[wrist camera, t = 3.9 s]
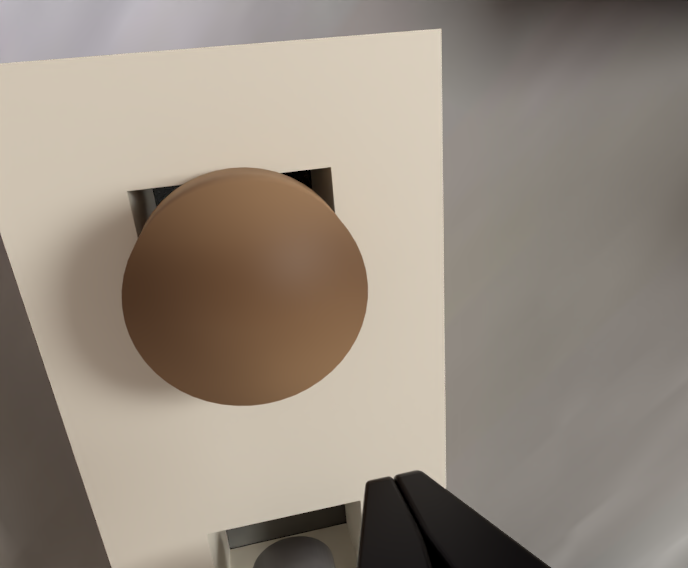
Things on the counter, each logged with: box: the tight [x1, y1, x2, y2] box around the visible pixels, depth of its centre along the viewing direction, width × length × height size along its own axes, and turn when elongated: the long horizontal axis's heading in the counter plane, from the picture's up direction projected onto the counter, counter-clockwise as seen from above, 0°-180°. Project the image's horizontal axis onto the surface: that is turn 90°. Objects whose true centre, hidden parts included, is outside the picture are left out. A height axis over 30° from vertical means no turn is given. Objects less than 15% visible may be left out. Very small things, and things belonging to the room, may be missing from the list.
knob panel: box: [0, 29, 446, 568], centre depth 18 cm, size 22×11×4 cm, turn 5°
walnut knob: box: [122, 167, 368, 406], centre depth 15 cm, size 6×6×5 cm
